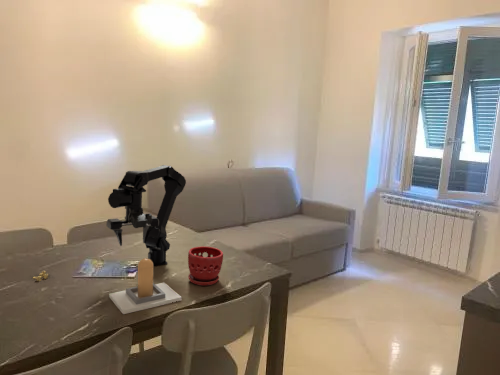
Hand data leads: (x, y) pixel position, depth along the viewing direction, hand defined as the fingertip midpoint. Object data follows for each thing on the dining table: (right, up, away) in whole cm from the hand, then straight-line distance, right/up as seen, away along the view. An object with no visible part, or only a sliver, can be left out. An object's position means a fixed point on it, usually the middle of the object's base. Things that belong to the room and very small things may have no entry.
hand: (132, 244), depth 157 cm
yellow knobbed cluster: (-32, -12, -6) cm, 35 cm away
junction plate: (+10, -16, -18) cm, 26 cm away
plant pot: (+28, -14, -1) cm, 31 cm away
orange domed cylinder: (+10, -15, -18) cm, 25 cm away
